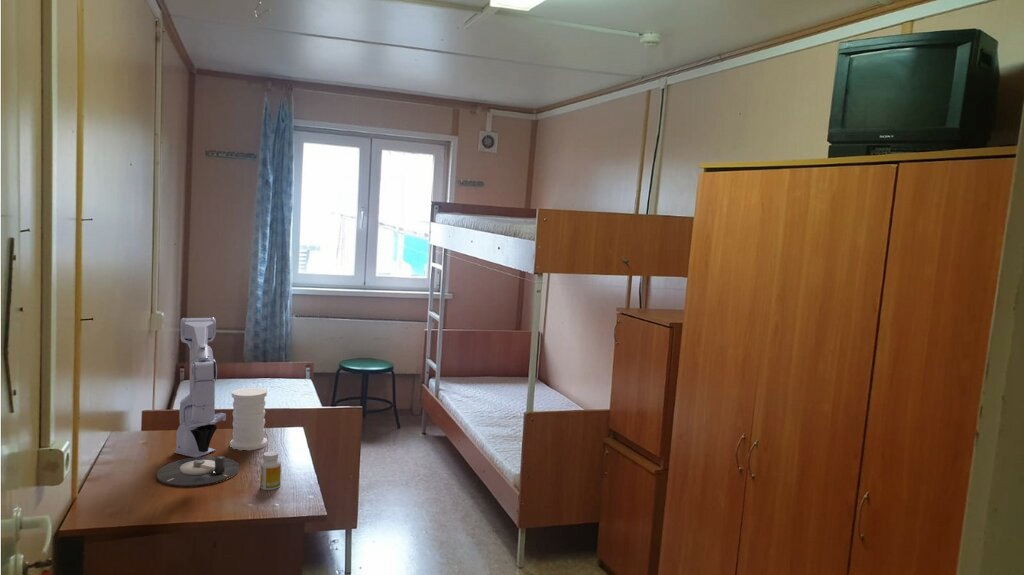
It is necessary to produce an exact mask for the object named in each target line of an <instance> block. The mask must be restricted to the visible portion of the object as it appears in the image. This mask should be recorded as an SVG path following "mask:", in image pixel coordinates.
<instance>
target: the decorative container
mask: <svg viewBox="0 0 1024 575" xmlns="http://www.w3.org/2000/svg"><path fill="white" fill-rule="evenodd" d="M267 394H268V393H267V389H265V388H262V387H242V388H238V389H234V390H232V391H231V398H233V402H232V407H233V411H232V417H233V420H232V427H233V430H232V436H233V437H232V439H231V440H230V441H229V447H230V448H231V447H232V448H233V449H232V448H231V449H232V450H235V449H238V450H237V451H242V450H247V451H255V450H256V451H257V450H260V449H263V448H265V447H266V446H268V439H267V437H265V434H266V429H265V424H266V419H265V415H266V409H265V406H266V400H265V398H266V397H267Z"/></svg>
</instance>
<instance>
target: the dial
mask: <svg viewBox="0 0 1024 575" xmlns="http://www.w3.org/2000/svg"><path fill="white" fill-rule="evenodd" d="M214 457H215V461H212V460H195V461H190V462H187V463H184V464H182V465H181V466H180V472H181V473H183V474H186V475H202V474H207V473H211V472H213V471H215V473H223V472H225V458H226V457H225V456H224V455H220V456H214Z"/></svg>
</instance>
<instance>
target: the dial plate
mask: <svg viewBox="0 0 1024 575" xmlns="http://www.w3.org/2000/svg"><path fill="white" fill-rule="evenodd" d="M215 457H216V456H199V457H189V458H184V459H183V458H182V459H179V460H176V461H173V462H169V463H167V464H165V465H163V466H162V467H161V468H158V470H157V473H156V478H157V480H158V482H160V483H161V484H164V485H166V484H167V485H168V486H171V485H173V486H172V487H178V486H183V487H182V488H191V487H192V488H194V486H196V487H204V486H203V485H205V486H209V485H208V484H211V485H214V484H213V483H215V484H217V483H216V482H219V483H221V482H220V481H222V482H224V481H223V480H225V481H227V480H226V479H227V478H229V477H231V476H233V475H235V474H236V473H237V472H238V471H239V472H240V464H239V462H237V461H236V460H235V459H231V458H228V457H225V472H223V473H215V471H213V472H211V473H207V474H202V475H186V474H183V473H181V472H180V466H181V465H182V464H184V463H187V462H190V461H195V460H212V461H215ZM239 472H238V473H239ZM238 473H237V474H238ZM237 474H236V475H237ZM236 475H235V476H236Z"/></svg>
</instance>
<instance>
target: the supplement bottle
mask: <svg viewBox="0 0 1024 575" xmlns="http://www.w3.org/2000/svg"><path fill="white" fill-rule="evenodd" d="M262 458H263V460H261V463H260V472H259V473H260V475H259V476H260V478H259V479H260V480H259V481H260V482H259V484H260V489H262V490H266V491H273V490H277V489H279V488H280V487H281V477H282V476H281V470H282V469H281V468H282V465H281V464H282V463H281V461H280V459H279V452H277V451H271V450H270V451H265V452H264V453H263V457H262Z"/></svg>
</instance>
